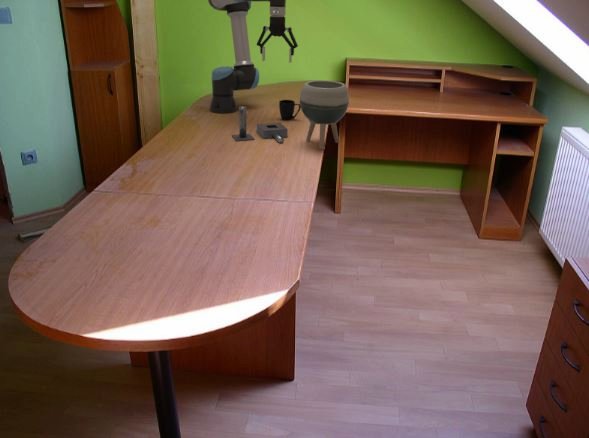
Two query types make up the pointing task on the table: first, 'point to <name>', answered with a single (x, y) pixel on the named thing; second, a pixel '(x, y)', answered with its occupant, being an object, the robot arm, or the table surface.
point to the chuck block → (272, 131)
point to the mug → (287, 109)
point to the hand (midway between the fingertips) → (276, 61)
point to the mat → (242, 138)
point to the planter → (324, 106)
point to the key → (242, 122)
